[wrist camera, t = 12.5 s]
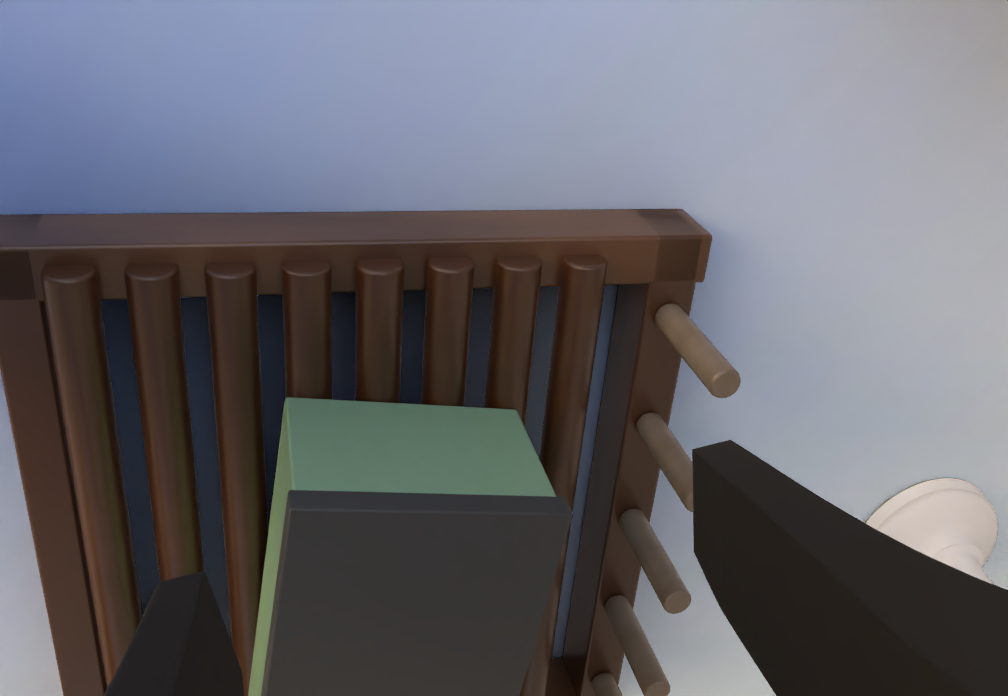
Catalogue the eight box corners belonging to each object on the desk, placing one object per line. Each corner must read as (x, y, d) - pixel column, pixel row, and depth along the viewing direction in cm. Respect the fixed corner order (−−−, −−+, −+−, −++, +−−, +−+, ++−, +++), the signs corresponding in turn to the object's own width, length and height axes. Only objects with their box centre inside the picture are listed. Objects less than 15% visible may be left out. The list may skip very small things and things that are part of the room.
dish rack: (92, 746, 27) (65, 920, 23) (-5, 213, 20) (-71, 326, 15) (599, 677, 31) (656, 816, 27) (683, 207, 23) (782, 296, 19)
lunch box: (242, 702, 24) (243, 847, 21) (280, 392, 20) (289, 509, 17) (449, 693, 26) (481, 827, 23) (521, 404, 22) (574, 514, 19)
